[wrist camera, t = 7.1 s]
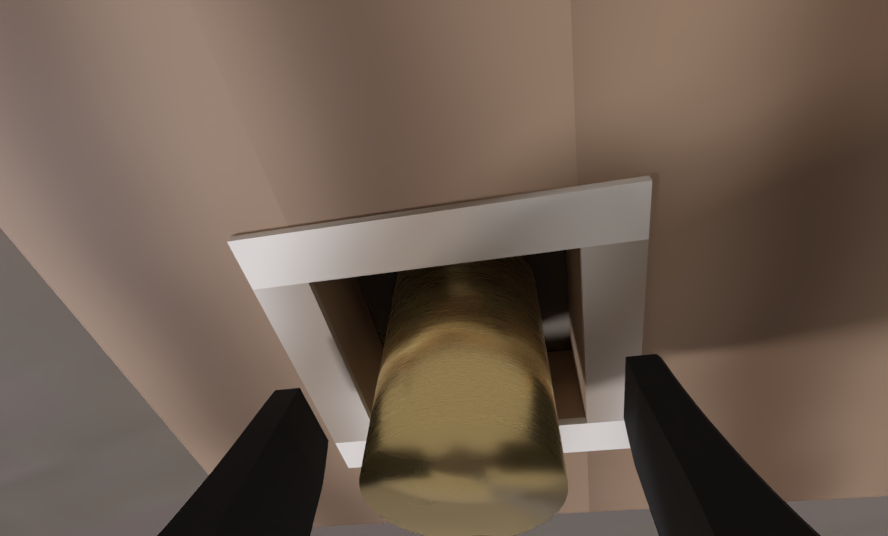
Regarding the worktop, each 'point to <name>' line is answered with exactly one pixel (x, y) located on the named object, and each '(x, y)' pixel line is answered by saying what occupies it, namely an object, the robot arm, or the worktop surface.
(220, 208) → the plate
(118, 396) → the worktop surface
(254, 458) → the robot arm
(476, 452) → the brass peg
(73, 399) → the worktop surface
